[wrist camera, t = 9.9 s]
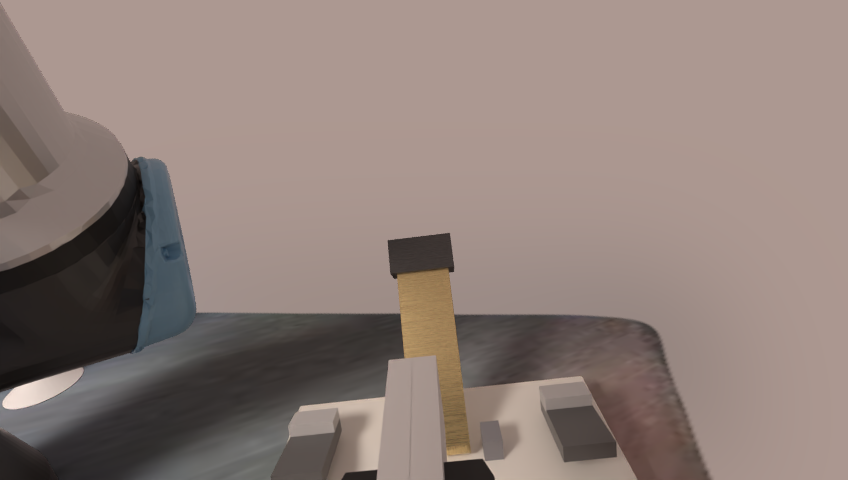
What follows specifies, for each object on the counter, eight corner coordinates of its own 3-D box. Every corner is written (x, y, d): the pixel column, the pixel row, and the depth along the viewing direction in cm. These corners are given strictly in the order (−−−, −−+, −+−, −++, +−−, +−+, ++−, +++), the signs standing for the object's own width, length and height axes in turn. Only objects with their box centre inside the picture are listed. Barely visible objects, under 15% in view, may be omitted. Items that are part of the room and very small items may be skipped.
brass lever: (406, 462, 26) (387, 240, 30) (410, 455, 28) (391, 247, 32) (478, 455, 26) (449, 233, 30) (476, 449, 28) (450, 240, 32)
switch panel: (251, 594, 23) (231, 550, 22) (305, 425, 34) (295, 389, 33) (662, 557, 22) (667, 508, 21) (581, 396, 34) (581, 358, 32)
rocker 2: (564, 462, 25) (561, 434, 24) (540, 409, 30) (538, 386, 29) (617, 457, 24) (615, 428, 24) (584, 405, 30) (583, 381, 29)
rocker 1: (273, 491, 25) (267, 464, 25) (300, 435, 30) (295, 412, 30) (324, 486, 25) (318, 459, 25) (341, 430, 30) (337, 407, 30)
